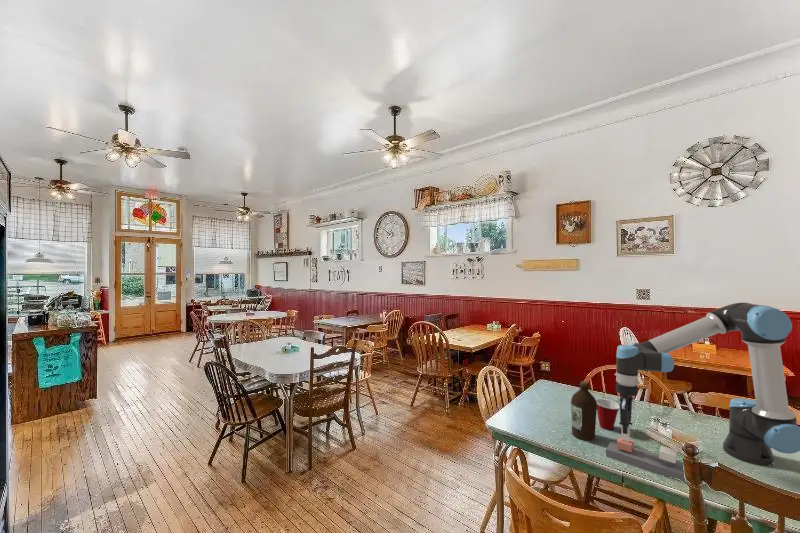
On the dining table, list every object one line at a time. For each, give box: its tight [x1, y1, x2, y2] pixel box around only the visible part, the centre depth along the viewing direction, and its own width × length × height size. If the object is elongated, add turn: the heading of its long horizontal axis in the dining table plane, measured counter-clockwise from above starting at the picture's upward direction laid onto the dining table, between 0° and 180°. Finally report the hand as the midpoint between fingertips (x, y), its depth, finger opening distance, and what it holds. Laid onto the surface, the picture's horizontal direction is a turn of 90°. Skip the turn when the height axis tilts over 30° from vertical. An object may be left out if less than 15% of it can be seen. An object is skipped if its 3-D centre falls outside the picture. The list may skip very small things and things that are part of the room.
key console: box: [605, 439, 686, 484], centre depth 141 cm, size 26×10×3 cm, turn 47°
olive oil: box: [570, 380, 598, 442], centre depth 163 cm, size 11×11×25 cm
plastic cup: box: [595, 398, 620, 431], centre depth 171 cm, size 11×11×12 cm
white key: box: [658, 445, 678, 463], centre depth 136 cm, size 5×5×3 cm
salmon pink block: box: [616, 436, 635, 453], centre depth 146 cm, size 5×5×3 cm
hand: (625, 440), depth 145 cm, fingers closed
